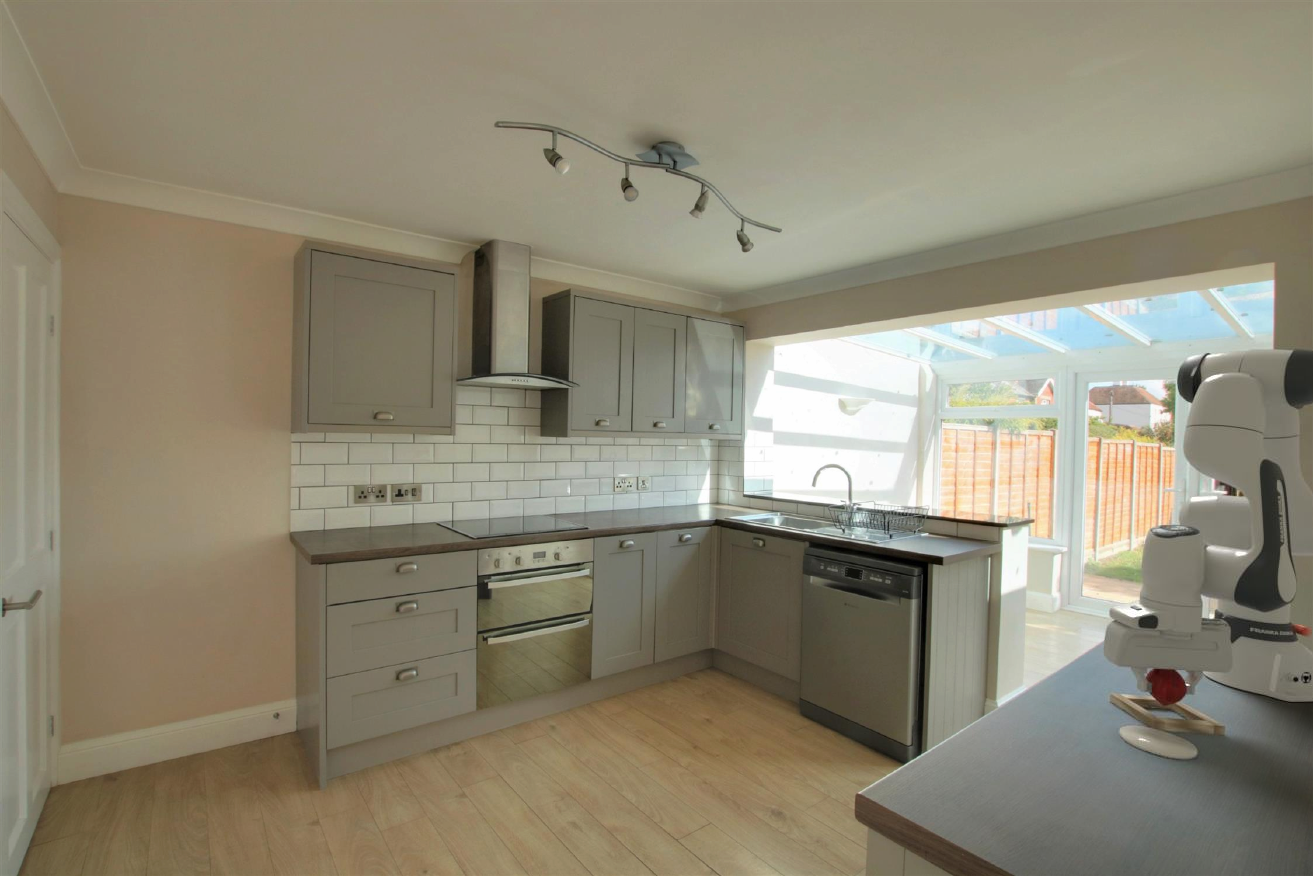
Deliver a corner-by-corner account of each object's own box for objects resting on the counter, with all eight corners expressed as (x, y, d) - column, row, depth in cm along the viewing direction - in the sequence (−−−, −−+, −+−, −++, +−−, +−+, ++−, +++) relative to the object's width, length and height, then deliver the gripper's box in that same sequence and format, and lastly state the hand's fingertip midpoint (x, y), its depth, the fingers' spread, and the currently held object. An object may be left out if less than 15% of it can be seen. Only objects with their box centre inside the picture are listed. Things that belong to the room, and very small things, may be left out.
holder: (1173, 705, 120) (1173, 697, 120) (1224, 734, 108) (1224, 726, 108) (1109, 701, 120) (1110, 693, 120) (1154, 729, 109) (1154, 721, 109)
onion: (1193, 714, 111) (1195, 669, 111) (1155, 710, 112) (1158, 665, 112) (1173, 700, 117) (1175, 657, 117) (1137, 696, 118) (1140, 654, 118)
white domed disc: (1165, 731, 108) (1166, 727, 108) (1214, 761, 98) (1214, 758, 98) (1105, 727, 109) (1105, 723, 109) (1147, 756, 99) (1147, 753, 99)
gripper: (1215, 614, 117) (1211, 688, 117) (1100, 607, 118) (1096, 681, 118) (1245, 624, 110) (1240, 703, 111) (1123, 618, 112) (1118, 696, 112)
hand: (1165, 692), depth 115 cm, fingers closed on onion, 6 cm apart
